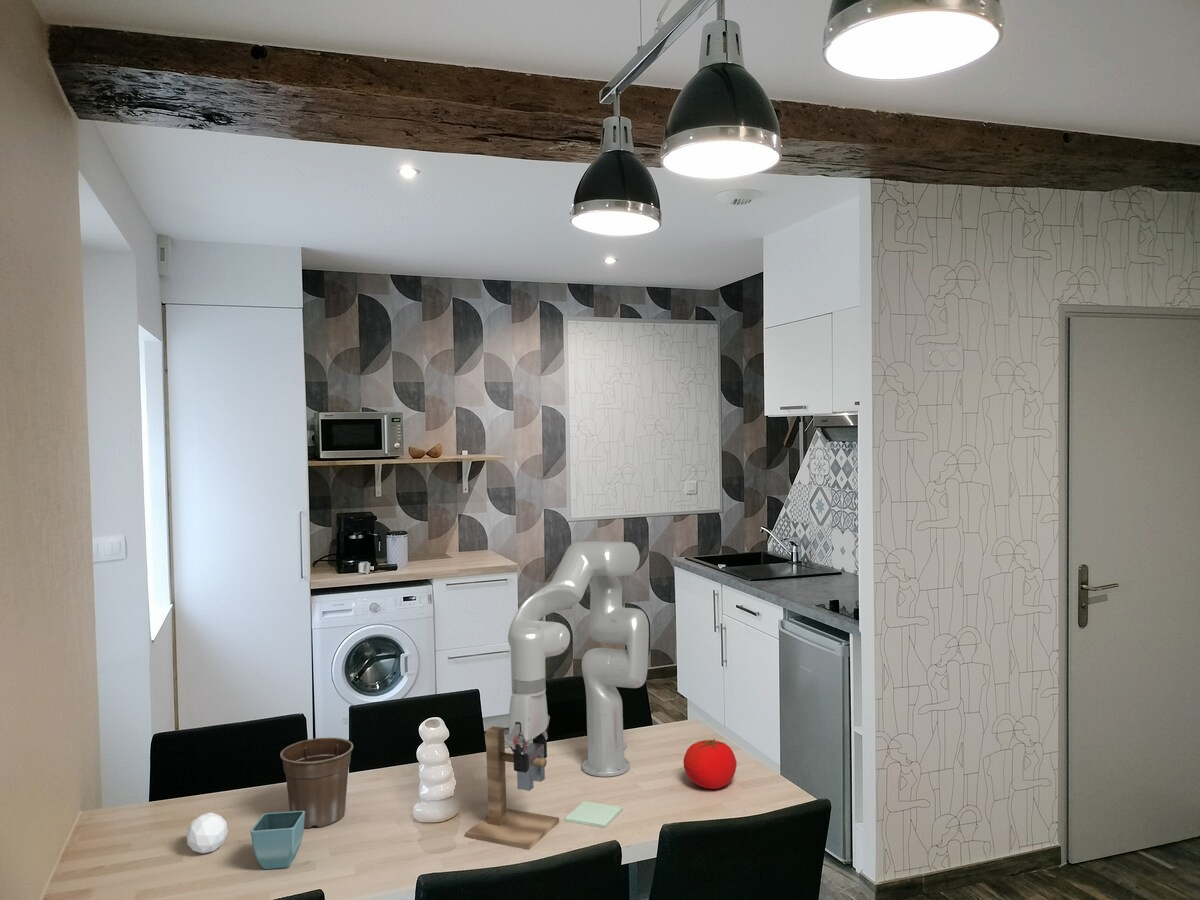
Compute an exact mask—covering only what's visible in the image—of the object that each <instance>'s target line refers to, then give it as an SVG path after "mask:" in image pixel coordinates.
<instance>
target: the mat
mask: <svg viewBox="0 0 1200 900" xmlns="http://www.w3.org/2000/svg"><path fill="white" fill-rule="evenodd" d="M623 808H624V807H622V806H617V805H611V804H605V803H600V802H599V803H598V802H592V801H586V800H583V801H582V802H581V803H580V804H579V805H578V806H577V807H575V809H574V810H572V811H571V812H570V813H569V814H568V815H567V816H565V818H564V821H565V822H570V823H576V824H581V825H584V826H585V825H587V826H591V827H592V826H593V827H597V828H604V829H606V828H607V827H608V826H609V825H610V824H611V823H612V822H613V820H615V818H617V816H619V814H620V813H621V812H622V811H623ZM611 821H612V822H611ZM610 822H611V823H610Z"/></svg>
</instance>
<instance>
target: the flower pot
mask: <svg viewBox="0 0 1200 900" xmlns="http://www.w3.org/2000/svg"><path fill="white" fill-rule="evenodd" d="M304 819H305V811H292V812H290V811H280V812H267V813H265V812H264V813H263V814H261V816H260V817H259V819H258V820H257V822H256V823H255V824H254V825H253V826H252V828H251V829H250V836H251V843H252V848H253V849H252V850H253V854H254V857H255V859H256V861H257V862H258V863H259V865H260V866H261V867H262V869H264V870H271V869H283V868H285V869H286V868H289V867H290V866H291V865H292V863H293V861H294V859H295V858H296V856H297V854H298V852H299V849H300V846H301V844H302V840H303V836H304V830H305V828H304Z"/></svg>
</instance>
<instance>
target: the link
mask: <svg viewBox="0 0 1200 900" xmlns="http://www.w3.org/2000/svg"><path fill="white" fill-rule="evenodd" d="M526 753H527V755H528V771H527V772H526V773H524V772H518V771H516V777H517V778H516V780H517V781H516V782H517V783H516V784H517V790H522V791H527V792H530V791H531V790H533V789H534V787H535V786H534V782H537V783H541V782H543V781H544V780H545V779H546V776H545V775H546V772H545V770H546V769H545V767H546V766H545V767H540V766H533V760H534V759H535V758H537V757H539V758H544V744H539V743H533V742H531V743H528V745H527V749H526Z"/></svg>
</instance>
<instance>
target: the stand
mask: <svg viewBox="0 0 1200 900" xmlns="http://www.w3.org/2000/svg"><path fill="white" fill-rule="evenodd" d="M505 737H506V736H505V727H503V726H502V727H501V726H495V725H494V726H491V727H489V728H488V729H486V730H485V746H486V752H485V753H486V781H487V782H486V783H487V784H486V785H487V789H486V790H487V815H486V816H485V817H484V818H482V819H481V820H479V822H477V823H476V824H475V825H473V826H472V827H471V828H469V829H468V830H466V832H465V833H464V834H465V838H468V839H473V840H479V841H484V842H489V843H493V844H498V845H500V844H501V845H504V846H509V847H514V848H519V849H524V850H530V849H532V848H533V846H535V845H536V844H537V843H539V841H540V840H541V839H543V838H544V837H545V836H546V835H547V834H548V833H549V832H550V831H551V830H552V829H553V828H554V827H556V825H558V824H559V823H560V817H558V816H553V815H546V814H541V813H535V812H529V811H524V810H518V809H517V810H516V809H513V808H512V809H511V808H508V807H507V784H506V783H507V782H506V781H507V780H506V779H507V778H506V777H507V776H506V775H507V774H506V763H512V764H514V755H513V753H512V752H506V746H505V745H506V743H505V742H506V740H505ZM547 763H548V761H547V758H539V757H537V758H535V759H534V760H533V766H540V767H546V766H547Z"/></svg>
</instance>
